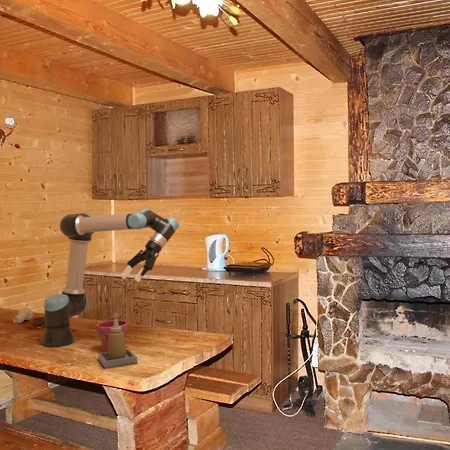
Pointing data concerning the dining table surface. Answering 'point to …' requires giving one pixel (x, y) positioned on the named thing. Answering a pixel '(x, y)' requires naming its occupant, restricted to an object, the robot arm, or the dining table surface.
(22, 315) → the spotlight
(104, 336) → the plant pot
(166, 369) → the dining table surface
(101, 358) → the tray
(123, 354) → the squeeze bottle
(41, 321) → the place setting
